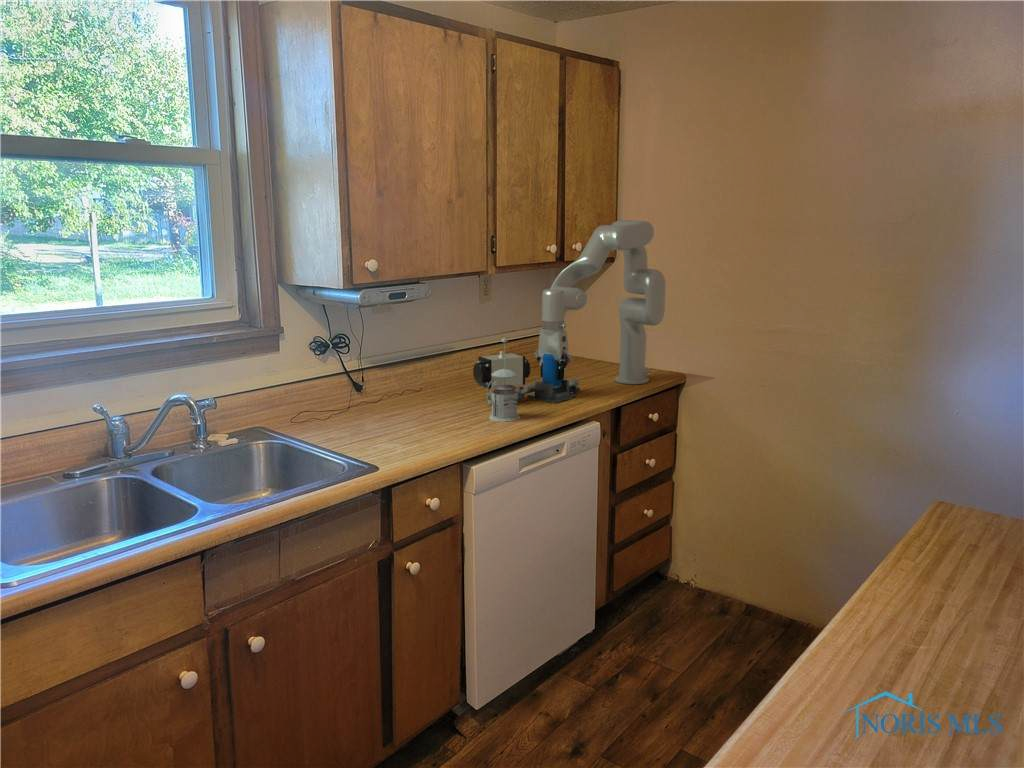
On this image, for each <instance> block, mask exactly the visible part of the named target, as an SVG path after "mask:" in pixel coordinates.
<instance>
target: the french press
mask: <svg viewBox="0 0 1024 768" xmlns="http://www.w3.org/2000/svg"><path fill="white" fill-rule="evenodd" d="M501 342H502V343H503V348H504V349H503V351H504V369H501V370H497V371H495V372H494V373H492V374H491V375H492V377H495V378H504V385H496V386H494V387H493V385H495V384H494V381H493V380H492V381H493V385H492V387H493V389H492V387H491V389H490V392H489V393H490V398H491V392H492V398H491V401H492V404H491V414H490V416H489V417H488V419H489V420H491V421H495V422H498V421H499V422H500V423H501V422H502V423H507V422H506V421H511V422H514V421H513V420H516V421H518V420H517V419H519V418H520V419H521V417H520V415H519V414H518V405H517V404H518V400H517V391H516V389H517V386H513V385H505V378H513V377H516V376H517V375H518V374H517V373H516V372H514V371H512V370H509V369H505V354H506V343H508V338H507V337H503V338H502V339H501ZM492 381H491V382H492ZM491 382H490V383H491ZM496 382H497V381H496ZM496 382H495V383H496ZM490 383H489V385H490ZM497 384H498V382H497ZM489 385H488V387H489ZM488 387H487V388H486V392H488V390H489V389H488ZM492 390H494V391H492ZM495 394H496V396H495ZM495 398H496V400H495ZM487 399H488V393H486V400H487ZM504 400H508V401H505V402H504ZM488 401H489V399H488V400H487V402H488ZM489 402H490V401H489ZM495 402H496V404H495ZM490 403H491V402H490ZM520 419H519V420H520Z"/></svg>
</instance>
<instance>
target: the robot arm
mask: <svg viewBox="0 0 1024 768" xmlns="http://www.w3.org/2000/svg"><path fill="white" fill-rule="evenodd" d="M654 234H655V228H654V227H653V225H652V223H650V222H649V221H647V220H628V219H627V220H626V219H625V220H621V219H620V220H617V221H614V222H613V223H612V224H605V225H604V224H603V225H599V226H597V227H596V228H595V230H593V233H592V235H591V236H590V238H589V240H588V241H587V243H586V245H585V247H584V249H583V250H582V251H581V252H580V255H579V257H578V258H577V259H576V260H574V261H572V262H571V263H570V264H569V265H568V266H566V267H565V268H564V269H563V270H561V271H560V273H558V275H557V276H556V278H554V280H553V283H552V284H551V287H550V288H546V289H544V290H543V291H542V295H541V298H542V299H541V329H540V331H539V337H538V338H539V339H538V348H537V349H536V350H535V351H534V353H533V356H535V358H536V361H537V362H538V365H539V366H540V378H543V355H544V354H545V353H549V354H552V355H553V357H554V359H555V360H556V361H557V365H558V369H557V380H562V379H565V369H566V367H567V366H568V364H569V363H570V362H571V361H572V359H573V358H572V356H571V355H570V354H569V339H568V334H567V331H566V329H565V328H567V324H566V323H565V311H566V310H567V311H568V310H569V311H578V310H580V309H583V308H584V307H585V306H586V305H587V302H588V296H587V293H585V291H584V290H582V289H581V288H577V287H572V286H574V285H575V284H576V283H577V282H579V281H580V280H583V279H585V278H588V277H590V276H593V275H595V274H597V273H599V272H600V271H601V269H602V267H603V265H604V263H605V262H606V260H607V259H608V256H609V255H610V253H611V252H612V251H621V252H622V254H623V255H622V256H623V288H624V290H625V291H626V292H627V293H629V294H635V295H641V296H642V295H644V296H645V298H644V297H637V296H636V297H635V296H632V297H626V298H624V299H623V300H622V301H620V303H619V306H618V318H619V322H620V340H619V341H620V344H619V345H620V346H619V370H618V371H619V373H618V374H619V375H617V376H615V377H614V380H615V382H617V383H620V384H624V385H625V384H626V385H642V384H647V383H649V381H650V379H649V377H647V376H646V374H649V373H651V369H650V368H649V367H647V368H646V349H647V332H646V328H645V326H651V327H652V326H653V327H654V326H658V325H659V324H661V323H662V322H663V320H664V315H665V309H666V307H665V306H666V279H665V276H664V274H663V273H662V272H661V271H660V270H659V269H655V268H648V252H647V249H646V247H645V246H647V245H649V244H650V243H651V241H652V240H653V238H654V236H655V235H654ZM544 352H545V353H544ZM560 361H561V362H560Z"/></svg>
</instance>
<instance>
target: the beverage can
mask: <svg viewBox="0 0 1024 768" xmlns="http://www.w3.org/2000/svg"><path fill="white" fill-rule="evenodd" d="M544 353H545V352H544ZM560 362H561V361H560ZM557 369H558V365H557V361H556V360H555V359H554V357H553V355H552V354H549V353H545V354H544V355H543V377H542V382H546V383H551V384H553V388H558V387H559V386H561V380H557Z"/></svg>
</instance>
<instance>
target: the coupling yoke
mask: <svg viewBox="0 0 1024 768" xmlns="http://www.w3.org/2000/svg"><path fill="white" fill-rule="evenodd" d="M578 385H579V380H578V379H576V378H572V379H568V378H567V379H565V378H564V379H562V380H561V386H559V387H558V388H553V384H551V383H546V382H543V381H540V380H535V382H534V384H533V383H532V384H528V385H527V384H525V385H521V386H519V387H516V389H515V391H517V399H516V400H517V402H519V401H520V402H521V401H522V402H524V401H523V400H525V401H526V398H527V399H532V400H535V399H536V400H537V401H540V400H541V401H540V402H544V401H546V402H545V403H549V402H551V403H550V404H553V403H555V404H557V403H556V402H558V403H561V402H560V401H562V402H564V401H563V400H566V401H568V400H567V399H569V400H571V399H570V398H573V399H575V398H574V397H576V398H577V394H579V393H578V392H581V388H580V387H578ZM570 392H573V393H570ZM575 393H576V394H575ZM526 396H527V397H526ZM536 400H535V401H536Z"/></svg>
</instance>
